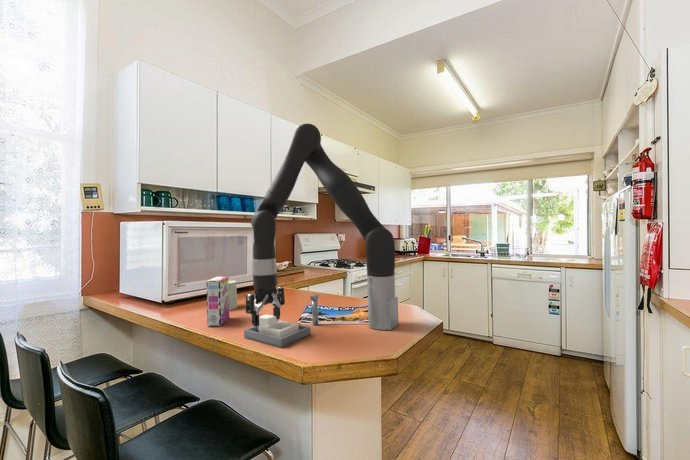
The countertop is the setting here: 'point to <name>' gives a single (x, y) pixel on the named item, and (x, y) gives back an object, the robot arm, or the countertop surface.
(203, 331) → the countertop surface
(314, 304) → the post
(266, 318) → the collar
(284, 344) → the tray
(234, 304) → the can
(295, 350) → the countertop surface
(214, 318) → the candy bar box
